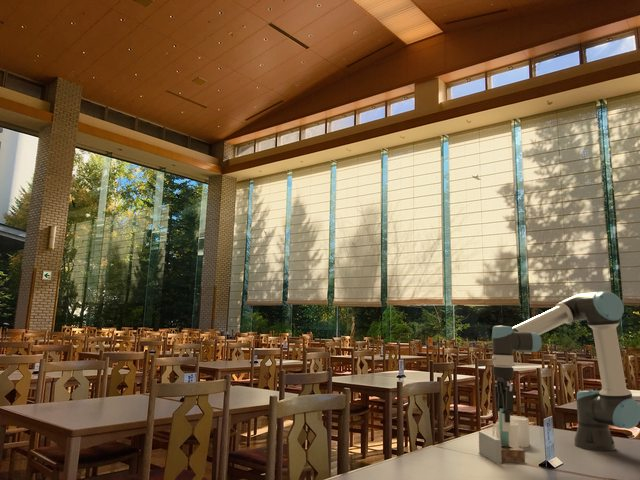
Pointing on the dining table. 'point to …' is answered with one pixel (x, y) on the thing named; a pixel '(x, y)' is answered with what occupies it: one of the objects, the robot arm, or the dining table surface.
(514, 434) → the cup
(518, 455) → the block
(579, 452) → the dining table surface
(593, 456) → the dining table surface
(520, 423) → the mug
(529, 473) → the dining table surface
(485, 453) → the wall
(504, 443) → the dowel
